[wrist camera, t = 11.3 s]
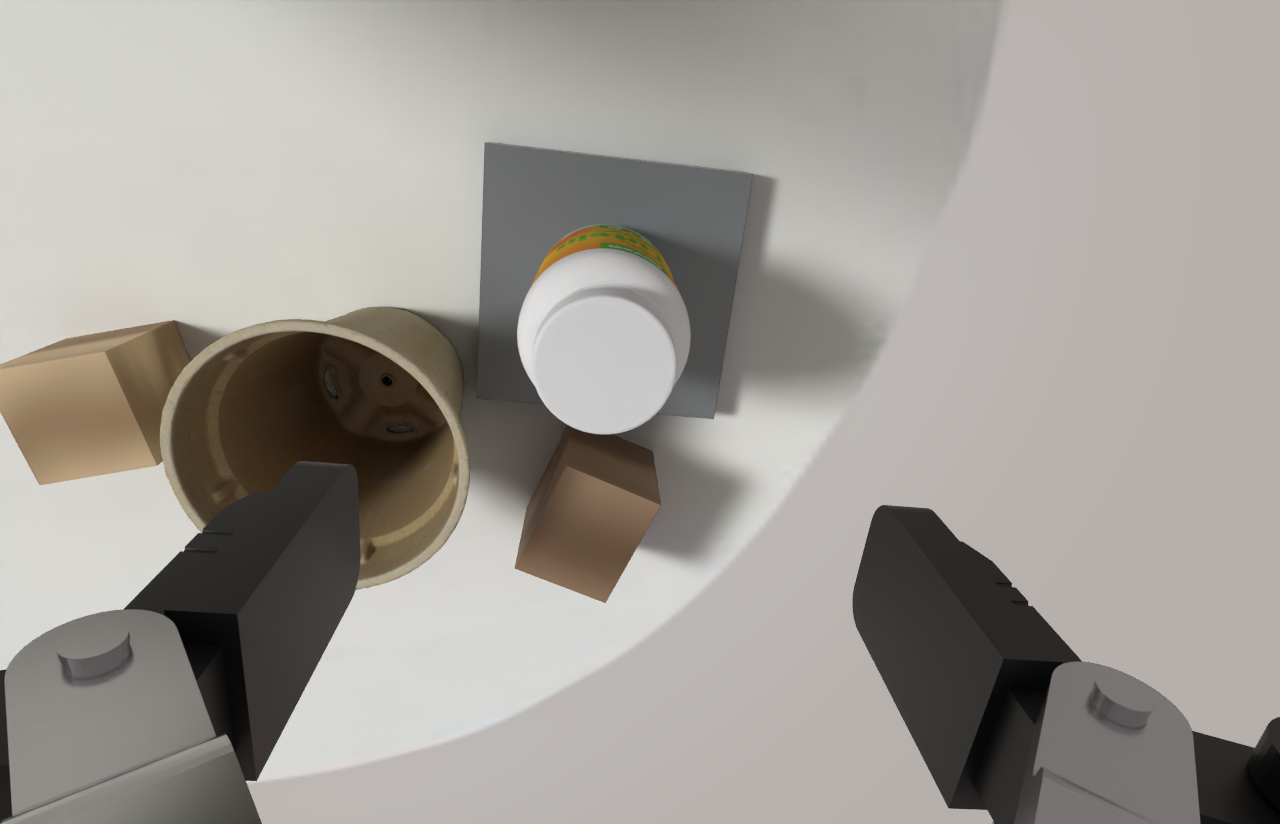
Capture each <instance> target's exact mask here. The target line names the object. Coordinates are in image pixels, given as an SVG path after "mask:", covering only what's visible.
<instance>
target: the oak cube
mask: <svg viewBox="0 0 1280 824" xmlns="http://www.w3.org/2000/svg"><path fill="white" fill-rule="evenodd" d="M190 362H191V359H190V357H189V355H188V352H187V350H186V347H185V345H184V342H183V340H182V338H181V335H180V333H179V330H178V328H177V325H176V323H175V321H174V320H173V321H167V322H161V323H155V324H149V325H143V326H137V327H132V328H126V329H120V330H114V331H108V332H102V333H96V334H90V335H84V336H79V337H73V338H67V339H64V340H62V341H59V342H57V343H54V344H52V345H49V346H46V347H44V348H41V349H39V350H36V351H34V352H31V353H29V354H26V355H24V356H21V357H19V358H16V359H13V360H11V361H8V362H6V363H3V364H1V365H0V412H1V414H2V416H3V418H4V420H5V422H6V423H7V425H8V427H9V429H10V431H11V433H12V435H13V437H14V438H15V440H16V442H17V444H18V446H19V448H20V450H21V452H22V453H23V455H24V457H25V459H26V461H27V463H28V465H29V467H30V468H31V470H32V472H33V474H34V476H35V478H36V480H37V482H38V483H39V485H44V484H50V483H56V482H62V481H68V480H74V479H80V478H86V477H92V476H98V475H104V474H110V473H115V472H121V471H127V470H133V469H139V468H145V467H151V466H157V465H158V464H160V463H161V462H162V461H163V459H162V455H161V447H160V427H161V417H162V411H163V408H164V406H165V403H166V401H167V397H168V395H169V392H170V390H171V388H172V387H173V385H174V383H175V381H176V379H177V378H178V376H179V375H180V374H181V373H182V370H183V369H184V367H186V366H187V365H188V364H189V363H190Z"/></svg>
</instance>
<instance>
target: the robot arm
mask: <svg viewBox="0 0 1280 824" xmlns="http://www.w3.org/2000/svg"><path fill="white" fill-rule="evenodd" d="M360 560H361V552H360V525H359V499H358V478H357V473H356V469H355V467H354V466H353V465H350V464H336V463H323V462H309V461H299V462H297V463H296V464H295V465H294V466H293V467H292V468H291V469H290V470H289V471H288V472H287V474H286V475H285V476H284V477H283V478H282V479H281V480H280V481H279V482H278V484H277V485H276V486H275V487H274V488H273V489H272V490H271V491H270V492H264V491H255V492H253V493H251V494H249V495H247V496H245V497H243V498H241V499H240V500H238V501H236V502H234V503H232V504H230V505H228V506H226V507H224V508H223V509H222V510H221V511H220V512H219V513H218V514H217V515H216V516H215V517H214V518H213V519H212V520H211V521H210V522H209V523H208V524H207V525H206V526H205V527H204V528H203V531H202V533H198V534H197V535H196V536H195V537H194V538H193V539H192V540H191V541H190V542H189V543H188V544H187V545H186V546H185V551H184V552H181V551H180V552H179V553H178V555H177V556H176V557H175V558H174V559H173V560H172V561H171V562H170V563H169V564H168V565H167V566H166V567H165V568H164V569H163V570H162V571H161V572H160V573H159V574H158V575H157V576H156V577H155V578H154V579H153V580H152V581H151V582H150V583H149V584H148V585H147V586H146V587H145V588H144V589H143V590H142V591H141V592H140V593H139V594H138V595H137V596H136V597H135V598H134V599H133V600H132V601H131V602H130V603H129V604H128V605H127V606H126V607H125V608H124V609H123V610H113V611H107V612H101V613H96V614H92V615H88V616H85V617H81V618H78V619H75V620H72V621H70V622H67V623H65V624H62V625H60V626H58V627H56V628H54V629H52V630H50V631H48V632H46V633H44V634H42V635H41V636H39V637H37V638H36V639H34V640H33V641H32V642H30V643H29V644H28V645H26V646H25V647H24V648H23V649H22V650H21V651H20V652H19V653H18V654H17V655H16V656H15V657H14V658H13V660H12V661H11V662H10V664H9V666H8V668H7V669H6V670H1V671H0V824H262V823H261V820H260V818H259V815H258V812H257V810H256V807H255V804H254V802H253V799H252V797H251V794H250V791H249V789H248V786H247V783H246V781H257V779H258V777H259V775H260V773H261V771H262V769H263V767H264V766H265V764H266V762H267V760H268V758H269V756H270V754H271V752H272V750H273V748H274V746H275V745H276V743H277V741H278V739H279V737H280V735H281V733H282V731H283V729H284V727H285V725H286V724H287V722H288V720H289V718H290V716H291V714H292V712H293V710H294V708H295V706H296V704H297V703H298V701H299V699H300V697H301V695H302V693H303V691H304V689H305V687H306V685H307V683H308V682H309V680H310V678H311V676H312V674H313V672H314V670H315V668H316V666H317V664H318V662H319V661H320V659H321V657H322V655H323V653H324V651H325V649H326V647H327V645H328V643H329V641H330V640H331V638H332V636H333V634H334V632H335V630H336V628H337V626H338V624H339V622H340V620H341V619H342V617H343V615H344V613H345V611H346V609H347V607H348V605H349V603H350V601H351V599H352V597H353V595H354V592H355V589H356V586H357V582H358V577H359V571H360ZM853 615H854V620H855V624H856V627H857V629H858V631H859V633H860V635H861V637H862V639H863V641H864V643H865V645H866V647H867V649H868V651H869V653H870V655H871V657H872V659H873V661H874V662H875V665H876V667H877V669H878V671H879V673H880V674H881V676H882V678H883V680H884V682H885V684H886V686H887V688H888V690H889V692H890V694H891V696H892V698H893V700H894V702H895V704H896V706H897V708H898V710H899V712H900V714H901V716H902V718H903V720H904V721H905V723H906V726H907V727H908V729H909V731H910V733H911V735H912V737H913V739H914V741H915V743H916V745H917V747H918V749H919V751H920V753H921V755H922V757H923V759H924V761H925V763H926V764H927V767H928V769H929V770H930V772H931V774H932V776H933V778H934V780H935V782H936V784H937V786H938V788H939V790H940V792H941V794H942V796H943V798H944V800H945V802H946V804H947V806H948V808H953V809H982V810H988V812H989V813H990V815H991V817H992V819H993V823H992V824H1280V717H1278V718H1276V719H1273V720H1272V721H1271V722H1270V723H1269V724H1268V726H1267V727H1266V729H1265V731H1264V733H1263V735H1262V736H1261V738H1260V740H1259V742H1258V744H1257V745H1256V747H1255V748H1253V747H1249V746H1246V745H1242V744H1238V743H1234V742H1231V741H1227V740H1224V739H1220V738H1216V737H1212V736H1208V735H1205V734H1202V733H1198V732H1194V731H1192V729H1191V727H1190V725H1189V723H1188V721H1187V719H1186V718H1185V717H1184V715H1183V714H1182V713H1181V712H1180V711H1179V710H1178V709H1177V707H1176V706H1175V705H1173V703H1171V702H1170V701H1169V700H1168V699H1167V698H1166V697H1164V696H1163V695H1162V694H1160V693H1159V692H1158V691H1156V690H1155V689H1153V688H1152V687H1150V686H1148V685H1147V684H1145V683H1144V682H1142V681H1140V680H1138V679H1136V678H1134V677H1132V676H1130V675H1128V674H1126V673H1123V672H1121V671H1118V670H1116V669H1113V668H1110V667H1107V666H1103V665H1099V664H1094V663H1089V662H1082V661H1081V660H1080V659H1079V657H1078V656H1077V655H1076V654H1075V653H1074V652H1073V651H1072V650H1071V649H1070V647H1069V646H1068V645H1067V644H1066V643H1065V642H1064V641H1063V640H1062V639H1061V637H1060V636H1059V635H1058V634H1057V633H1056V632H1055V631H1054V630H1053V628H1052V627H1051V626H1050V625H1049V624H1048V623H1047V622H1046V621H1045V620H1044V619H1043V617H1042V616H1041V615H1040V614H1039V613H1038V612H1037V611H1036V610H1035V608H1034V607H1033V606H1028V601H1027V600H1026V598H1025V597H1024V596H1023V595H1022V594H1021V593H1020V592H1019V591H1018V590H1017V588H1014V587H1012V583H1011V582H1010V581H1009V580H1008V578H1007V577H1006V576H1005V575H1004V574H1003V573H1002V572H1001V571H1000V569H999V568H998V567H997V566H996V565H995V564H994V563H993V562H992V561H991V560H989V559H988V558H986V557H985V556H983V555H982V554H980V553H979V552H977V551H976V550H974V549H973V548H971V547H970V546H968V545H967V544H965V543H964V542H960V541H959V540H958V539H957V538H956V537H955V536H954V534H953V533H952V532H951V531H950V530H949V529H948V527H947V526H946V525H945V524H944V523H943V522H942V520H941V519H940V518H939V517H938V516H937V515H936V514H935V512H933V511H932V510H931V509H927V508H915V507H901V506H888V505H882V506H880V507H879V508H878V509H877V510H876V511H875V513H874V515H873V518H872V521H871V525H870V528H869V533H868V536H867V540H866V544H865V548H864V551H863V556H862V559H861V563H860V567H859V571H858V574H857V578H856V582H855V586H854V592H853Z"/></svg>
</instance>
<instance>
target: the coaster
mask: <svg viewBox="0 0 1280 824" xmlns="http://www.w3.org/2000/svg"><path fill="white" fill-rule="evenodd" d="M752 178H753V174H751V173H748V172H740V171H732V170H723V169H715V168H706V167H698V166H689V165H681V164H672V163H664V162H655V161H647V160H638V159H629V158H621V157H612V156H604V155H595V154H587V153H578V152H570V151H561V150H553V149H544V148H536V147H527V146H519V145H510V144H502V143H493V142H486V143H485V152H484V183H483V215H482V246H481V277H480V308H479V340H478V371H477V398H478V399H490V400H501V401H513V402H524V403H536V404H544V403H543V401H542V400H541V398H540V396H539V394H538V392H537V390H536V387H535V386H534V384H533V383H532V381H531V380H530V378H529V376H528V375H527V373H526V371H525V369H524V366H523V364H522V361H521V358H520V354H519V349H518V342H517V328H518V320H519V315H520V312H521V308H522V305H523V302H524V300H525V297H526V295H527V293H528V291H529V289H530V287H531V285H532V283H533V281H534V279H535V277H536V275H537V273H538V270H539V268H540V266H541V264H542V262H543V260H544V258H545V257H546V255H547V254H548V252H549V251H550V250H551V248H552V247H553V246H554V245H555V244H556V243H557V242H558V241H559V240H561V239H562V238H563V237H564V236H566V235H567V234H569V233H571V232H573V231H575V230H577V229H579V228H582V227H585V226H589V225H596V224H611V225H617V226H622V227H625V228H628V229H630V230H633V231H635V232H637V233H639V234H640V235H642V236H643V237H645V238H646V239H647V240H649V241H650V242H651V243H652V244H653V245H654V246H655V247H656V248H657V250H658V251H659V252H660V254H661V255H662V256H663V258H664V260H665V261H666V263H667V265H668V267H669V269H670V272H671V274H672V276H673V279H674V281H675V284H676V286H677V288H678V290H679V292H680V295H681V297H682V299H683V301H684V304H685V306H686V310H687V313H688V317H689V323H690V333H691V339H690V349H689V354H688V358H687V362H686V365H685V367H684V369H683V372H682V374H681V376H680V378H679V379H678V381H677V382H676V384H675V385H674V386H673V389H672V392H671V394H670V396H669V397H668V399H667V401H666V403H665V404H664V405H663V407H662V408H661V409H660V410H659V411H658V413H657V414H662V415H673V416H685V417H696V418H708V419H714V414H715V408H716V401H717V395H718V389H719V383H720V377H721V370H722V364H723V358H724V352H725V345H726V339H727V333H728V327H729V321H730V314H731V308H732V302H733V296H734V290H735V283H736V277H737V271H738V265H739V258H740V252H741V246H742V240H743V234H744V227H745V221H746V215H747V209H748V202H749V196H750V190H751V184H752Z"/></svg>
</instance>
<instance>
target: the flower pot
mask: <svg viewBox="0 0 1280 824" xmlns="http://www.w3.org/2000/svg"><path fill="white" fill-rule="evenodd" d="M328 369H329V370H331V371H332V374H333V379H334V383H335V387H336V391H337V393H338V397H335V398H334V397H333V396H332V395H331V393H330V392H329V391H328V389H327V387H326V382H325V378H324V376H325V372H326V371H327V370H328ZM385 376H388V377H389V378H390V379H391V380H392V382H393V383H392V384H391V385H389V386H387V385H385V384H384V383H383V381H382V379H383V378H384V377H385ZM463 390H464V377H463V371H462V367H461V364H460V361H459V358H458V356H457V354H456V352H455V350H454V348H453V346H452V345H451V343H450V342H449V341H448V339H447V338H446V337H445V336H444V335H442V334H441V333H440V332H439V331H438V330H437V329H436V328H434V327H433V326H432V325H430V324H429V323H428V322H426V321H425V320H423V319H422V318H420V317H419V316H417V315H415V314H413V313H411V312H408V311H405V310H401V309H397V308H391V307H369V308H363V309H359V310H356V311H353V312H350V313H348V314H346V315H343V316H341V317H338V318H335V319H332V320H328V321H325V322H323V321H315V320H301V319H289V320H277V321H271V322H266V323H261V324H256V325H253V326H250V327H246V328H243V329H240V330H238V331H235V332H232V333H230V334H228V335H226V336H224V337H222V338H221V339H219V340H217V341H215V342H214V343H212V344H211V345H209V346H208V347H207V348H205V349H204V350H203V351H201V352H200V353H199V354H198V355H197V356H196V357H194V359H193V360H192V361H191V362H190V363H189V364H188V365H187V366H186V367H184V369H183V370H182V373H181V374H180V375H179V376H178V378H177V379H176V381H175V383H174V385H173V387H172V388H171V390H170V392H169V395H168V397H167V401H166V403H165V406H164V408H163V411H162V417H161V427H160V447H161V455H162V459H163V463H164V468H165V473H166V476H167V477H168V480H169V482H170V485H171V487H172V489H173V491H174V494H175V496H176V497H177V499H178V501H179V503H180V505H181V506H182V508H183V510H184V511H185V513H186V514H187V515H188V517H189V518H190V519H191V521H192V522H193V523H194V525H195V526H196V527H197V528H198V529H199V530H200V532H201V533H202V531H203V528H204V527H205V526H206V525H207V524H208V523H209V522H210V521H211V520H212V519H213V518H214V517H215V516H216V515H217V514H218V513H219V512H220V511H221V510H222V509H223V508H224V507H226V506H228V505H230V504H232V503H234V502H236V501H238V500H240V499H241V498H243V497H245V496H247V495H249V494H251V493H253V492H255V491H264V492H270V491H271V490H272V489H273V488H274V487H275V486H276V485H277V484H278V482H279V481H280V480H281V479H282V478H283V477H284V476H285V475H286V474H287V472H288V471H289V470H290V469H291V468H292V467H293V466H294V465H295V464H296V463H297V462H299V461H309V462H323V463H336V464H350V465H353V466H354V467H355V469H356V473H357V478H358V499H359V525H360V552H361V560H360V571H359V577H358V582H357V586H356V589H355V590H357V589H361V588H369V587H371V586H375V585H380V584H383V583H386V582H389V581H392V580H395V579H398V578H400V577H401V576H404V575H406V574H408V573H410V572H411V571H412V570H414V569H416V568H418V567H419V566H420V565H422V564H424V563H425V562H426V561H427V560H428V559H430V558H431V557H432V556H433V555H434V554H435V553H436V552H437V551H438V550H439V549H440V548H441V547H442V546H443V545H444V544H445V543H446V541H447V540H448V538H449V537H450V535H451V534H452V532H453V530H454V529H455V528H456V526H457V524H458V522H459V520H460V517H461V515H462V512H463V510H464V507H465V504H466V499H467V494H468V489H469V481H470V458H469V450H468V445H467V441H466V437H465V434H464V431H463V428H462V425H461V423H460V421H459V420H460V412H461V404H462V397H463ZM399 423H401V424H400V425H404V426H405V425H407V426H408V425H410V426H411V427H412V429H413V430H412V431H407V432H400V433H393V432H390V431H388V430H387V427H392V426H398V424H399Z"/></svg>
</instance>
